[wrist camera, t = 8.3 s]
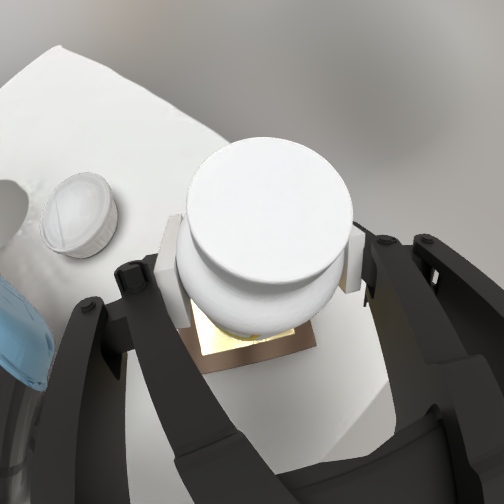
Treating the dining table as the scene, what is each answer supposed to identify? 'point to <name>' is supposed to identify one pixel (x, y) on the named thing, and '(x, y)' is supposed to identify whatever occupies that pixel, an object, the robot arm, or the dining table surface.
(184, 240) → the supplement bottle
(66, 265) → the dining table surface
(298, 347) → the walnut plinth
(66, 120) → the dining table surface
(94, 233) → the ramekin
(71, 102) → the dining table surface
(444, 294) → the robot arm
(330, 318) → the dining table surface
